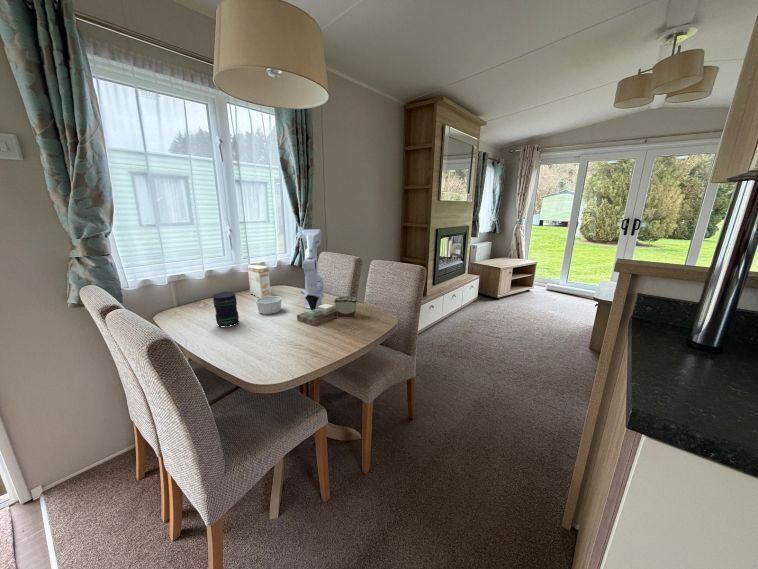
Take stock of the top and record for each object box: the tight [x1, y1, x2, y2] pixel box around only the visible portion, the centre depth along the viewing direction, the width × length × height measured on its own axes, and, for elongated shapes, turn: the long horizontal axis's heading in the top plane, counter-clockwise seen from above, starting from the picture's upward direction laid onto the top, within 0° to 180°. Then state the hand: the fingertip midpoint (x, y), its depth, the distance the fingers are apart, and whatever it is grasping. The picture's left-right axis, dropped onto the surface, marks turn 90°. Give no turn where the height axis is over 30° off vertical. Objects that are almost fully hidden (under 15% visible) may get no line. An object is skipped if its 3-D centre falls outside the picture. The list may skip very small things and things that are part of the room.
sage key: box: [304, 308, 322, 318], centre depth 148 cm, size 6×6×2 cm
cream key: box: [318, 303, 335, 312], centre depth 155 cm, size 6×6×2 cm
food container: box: [333, 295, 358, 319], centre depth 153 cm, size 12×6×10 cm, turn 84°
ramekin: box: [255, 295, 283, 315], centre depth 161 cm, size 13×13×7 cm
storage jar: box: [212, 291, 240, 326], centre depth 142 cm, size 10×10×15 cm
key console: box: [296, 306, 337, 327], centre depth 152 cm, size 12×20×3 cm, turn 145°
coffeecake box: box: [247, 264, 272, 299], centre depth 188 cm, size 15×7×20 cm, turn 48°
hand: (313, 309), depth 147 cm, fingers closed
